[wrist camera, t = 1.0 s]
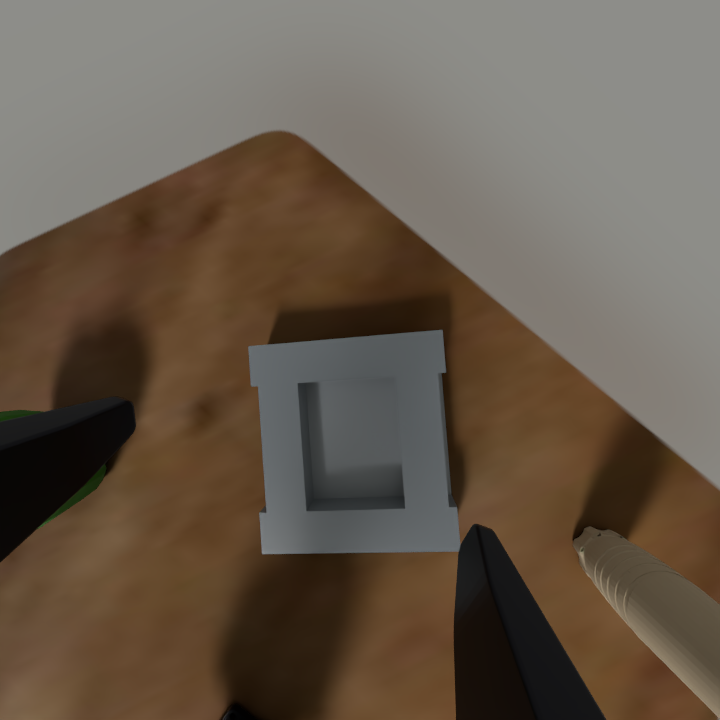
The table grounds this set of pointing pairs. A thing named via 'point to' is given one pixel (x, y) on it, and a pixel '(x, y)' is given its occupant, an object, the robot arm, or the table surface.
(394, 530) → the block
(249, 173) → the table surface
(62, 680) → the table surface
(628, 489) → the table surface
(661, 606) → the handle
